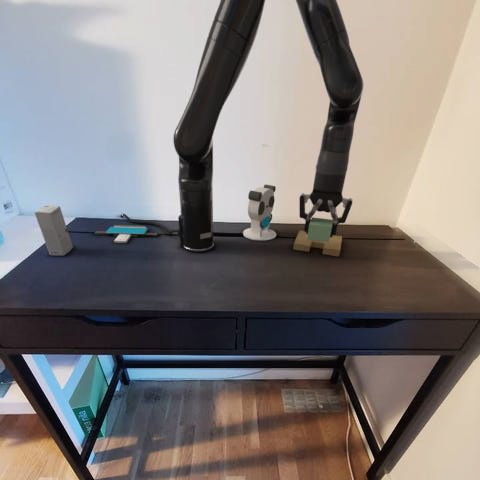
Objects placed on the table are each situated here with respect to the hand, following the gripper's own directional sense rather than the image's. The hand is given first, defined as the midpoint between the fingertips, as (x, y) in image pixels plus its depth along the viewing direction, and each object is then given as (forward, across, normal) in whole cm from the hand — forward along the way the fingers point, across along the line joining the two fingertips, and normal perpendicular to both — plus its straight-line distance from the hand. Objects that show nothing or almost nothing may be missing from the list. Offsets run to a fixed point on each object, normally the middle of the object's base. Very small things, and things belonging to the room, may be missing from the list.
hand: (319, 234), depth 88 cm
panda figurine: (+7, +20, -12) cm, 24 cm away
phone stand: (+7, +60, +6) cm, 61 cm away
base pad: (+7, 0, -10) cm, 12 cm away
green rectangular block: (+1, 0, -2) cm, 2 cm away
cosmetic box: (+7, +70, +23) cm, 74 cm away
